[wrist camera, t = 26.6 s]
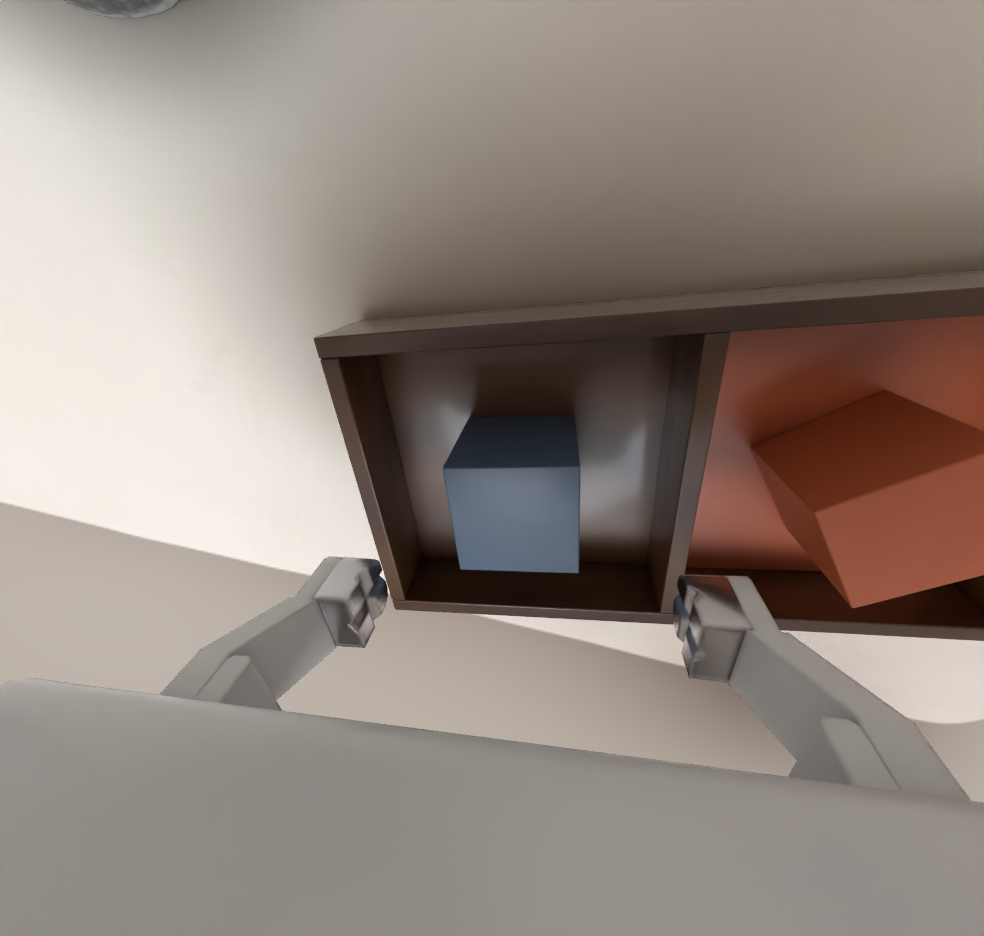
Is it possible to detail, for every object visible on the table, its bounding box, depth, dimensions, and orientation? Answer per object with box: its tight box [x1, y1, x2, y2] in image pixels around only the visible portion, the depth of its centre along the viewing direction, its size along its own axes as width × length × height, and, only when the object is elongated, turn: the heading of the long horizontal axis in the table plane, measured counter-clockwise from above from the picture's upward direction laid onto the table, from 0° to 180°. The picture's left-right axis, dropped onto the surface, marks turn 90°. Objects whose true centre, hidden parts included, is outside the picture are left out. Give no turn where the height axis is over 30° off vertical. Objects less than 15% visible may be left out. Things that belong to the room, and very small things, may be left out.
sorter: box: [314, 270, 984, 641], centre depth 15 cm, size 13×25×4 cm, turn 95°
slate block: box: [443, 414, 581, 573], centre depth 16 cm, size 4×4×4 cm
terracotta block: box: [751, 390, 984, 608], centre depth 13 cm, size 4×4×4 cm
